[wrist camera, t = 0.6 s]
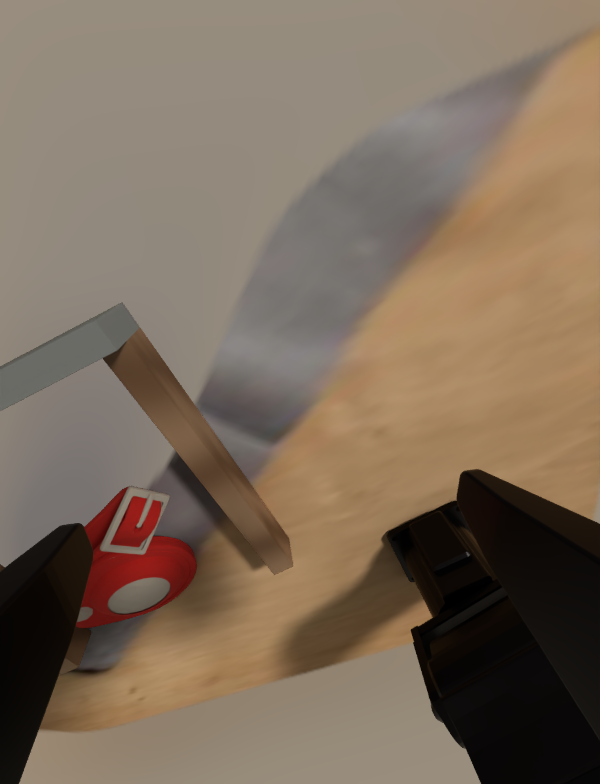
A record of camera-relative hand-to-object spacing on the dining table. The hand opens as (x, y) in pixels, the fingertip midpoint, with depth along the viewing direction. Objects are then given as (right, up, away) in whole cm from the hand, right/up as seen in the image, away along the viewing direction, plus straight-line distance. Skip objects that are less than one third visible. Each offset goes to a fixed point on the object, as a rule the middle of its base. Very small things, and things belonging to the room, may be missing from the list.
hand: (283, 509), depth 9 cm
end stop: (-17, +3, +11) cm, 20 cm away
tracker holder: (-11, -8, +17) cm, 22 cm away
